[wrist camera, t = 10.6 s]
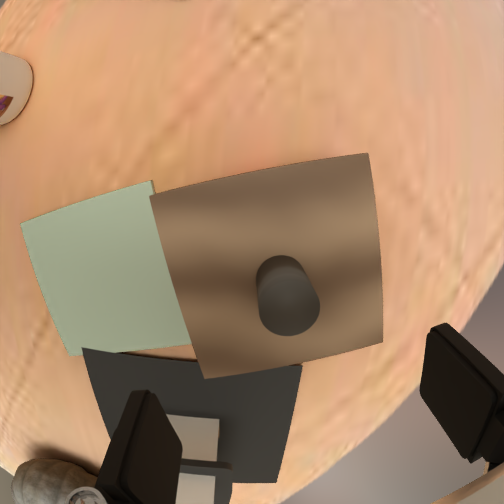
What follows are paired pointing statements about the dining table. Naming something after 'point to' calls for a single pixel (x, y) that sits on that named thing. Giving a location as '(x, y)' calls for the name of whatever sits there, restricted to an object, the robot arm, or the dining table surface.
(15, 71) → the milk bottle
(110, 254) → the sage mat
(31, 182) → the dining table surface
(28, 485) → the gourd
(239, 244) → the walnut lid
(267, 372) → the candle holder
